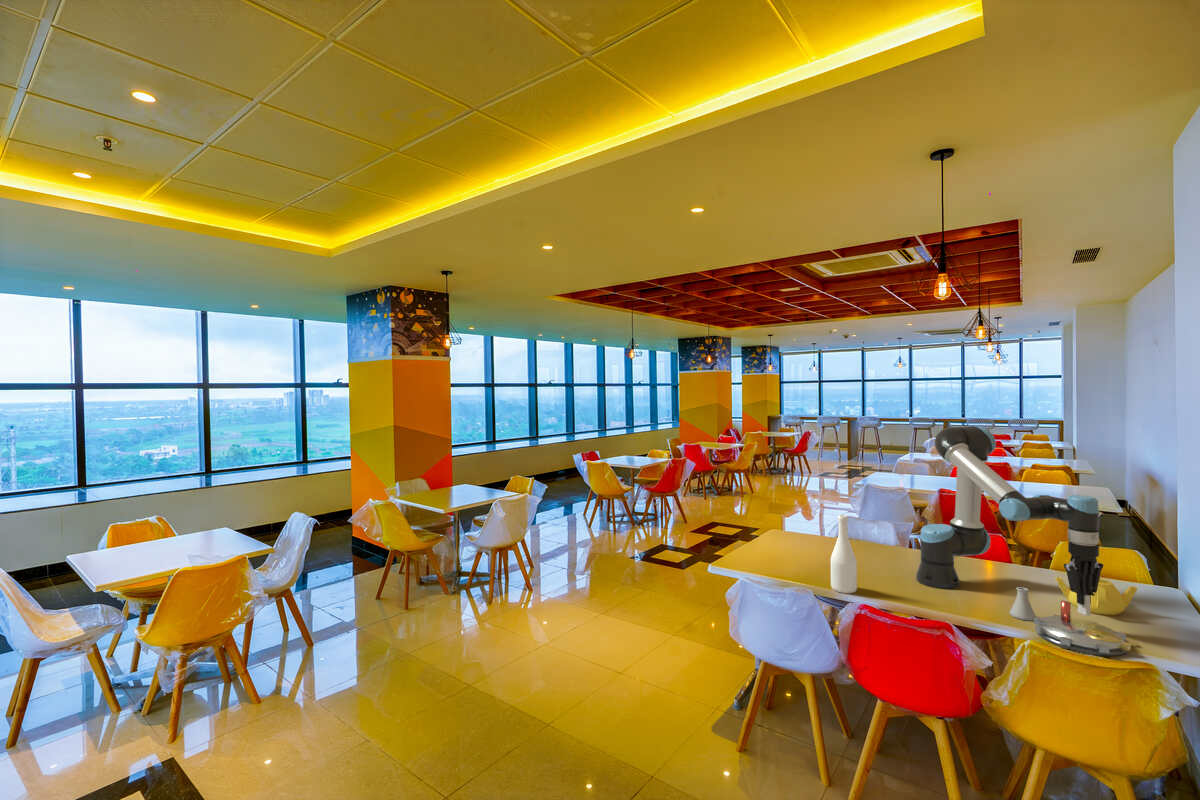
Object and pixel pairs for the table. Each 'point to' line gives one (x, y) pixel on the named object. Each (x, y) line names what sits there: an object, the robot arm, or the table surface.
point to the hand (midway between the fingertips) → (1083, 613)
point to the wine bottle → (843, 561)
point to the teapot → (1102, 597)
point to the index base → (1087, 651)
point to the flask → (1022, 606)
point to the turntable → (1080, 632)
